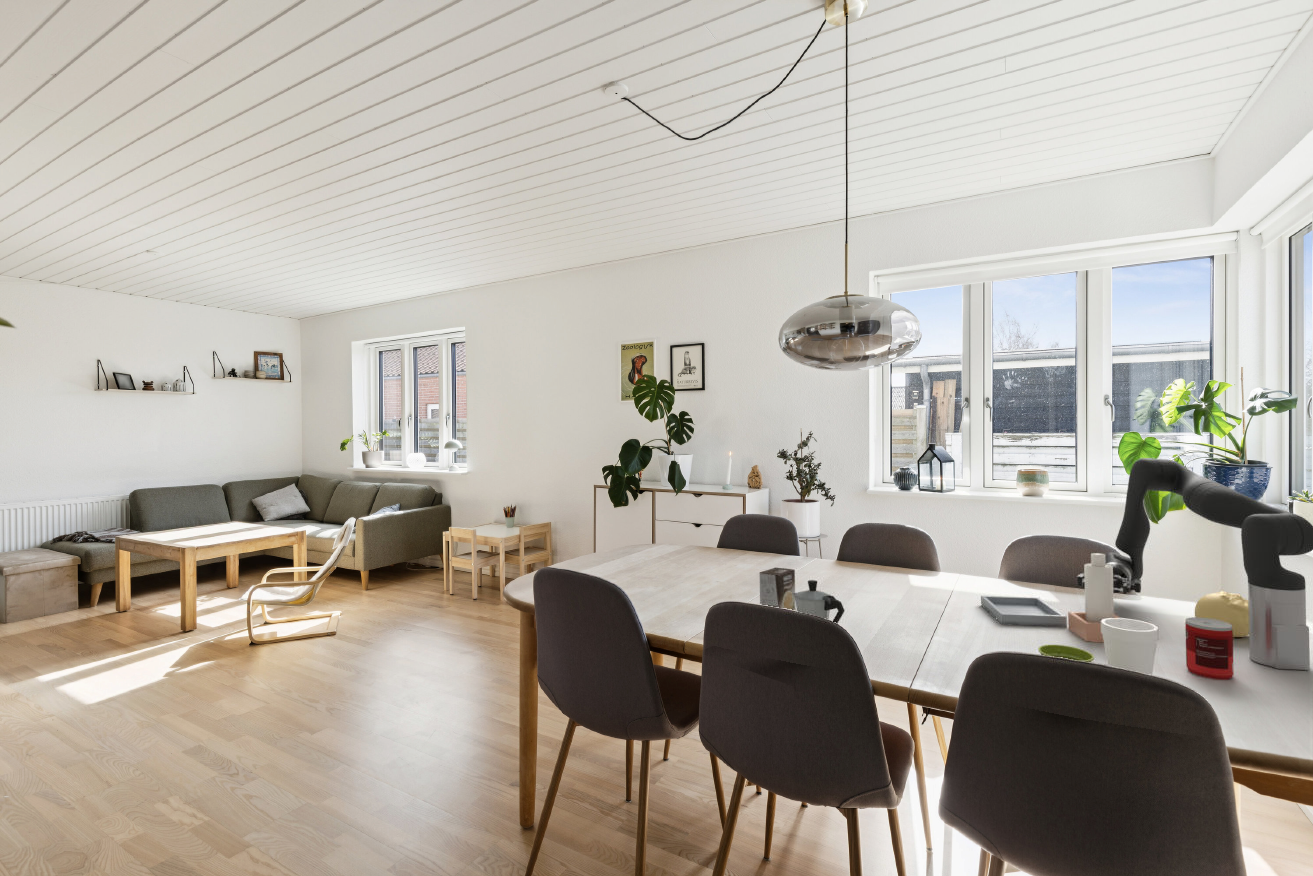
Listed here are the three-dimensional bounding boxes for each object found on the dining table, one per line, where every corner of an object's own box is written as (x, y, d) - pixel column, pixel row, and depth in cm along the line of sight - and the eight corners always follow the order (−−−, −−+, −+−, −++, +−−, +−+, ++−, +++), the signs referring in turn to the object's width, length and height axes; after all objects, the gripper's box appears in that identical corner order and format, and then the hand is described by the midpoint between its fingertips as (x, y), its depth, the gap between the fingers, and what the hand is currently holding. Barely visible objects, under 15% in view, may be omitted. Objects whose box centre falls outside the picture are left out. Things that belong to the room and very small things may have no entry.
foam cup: (1140, 679, 134) (1138, 618, 134) (1171, 697, 125) (1169, 631, 125) (1092, 678, 135) (1091, 617, 135) (1119, 696, 126) (1118, 631, 126)
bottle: (1119, 640, 159) (1117, 556, 158) (1092, 639, 160) (1090, 556, 160) (1107, 632, 164) (1105, 552, 164) (1081, 631, 166) (1079, 551, 166)
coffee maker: (782, 652, 156) (780, 579, 156) (803, 644, 162) (802, 573, 162) (833, 668, 145) (832, 589, 145) (855, 658, 150) (853, 583, 150)
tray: (1066, 626, 170) (1066, 616, 170) (1001, 624, 174) (1001, 614, 174) (1039, 606, 190) (1038, 597, 190) (981, 605, 193) (980, 595, 193)
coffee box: (780, 635, 169) (779, 575, 169) (759, 630, 173) (758, 572, 173) (796, 626, 176) (795, 569, 176) (776, 622, 180) (774, 566, 180)
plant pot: (1084, 687, 130) (1083, 646, 130) (1103, 707, 121) (1101, 662, 121) (1033, 684, 133) (1032, 643, 133) (1047, 702, 124) (1046, 658, 124)
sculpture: (1261, 644, 153) (1260, 600, 153) (1196, 636, 160) (1195, 593, 160) (1254, 632, 162) (1253, 590, 162) (1193, 624, 169) (1192, 584, 169)
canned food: (1209, 665, 140) (1208, 616, 140) (1244, 679, 132) (1243, 627, 132) (1176, 667, 140) (1175, 617, 140) (1209, 681, 132) (1208, 628, 132)
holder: (1133, 643, 156) (1133, 625, 156) (1086, 641, 158) (1085, 623, 158) (1113, 630, 166) (1112, 613, 166) (1068, 628, 168) (1068, 612, 168)
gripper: (1083, 560, 186) (1073, 570, 174) (1144, 566, 176) (1137, 577, 164) (1084, 586, 186) (1073, 597, 174) (1145, 593, 176) (1138, 606, 165)
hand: (1105, 587), depth 169 cm, fingers open, 8 cm apart
